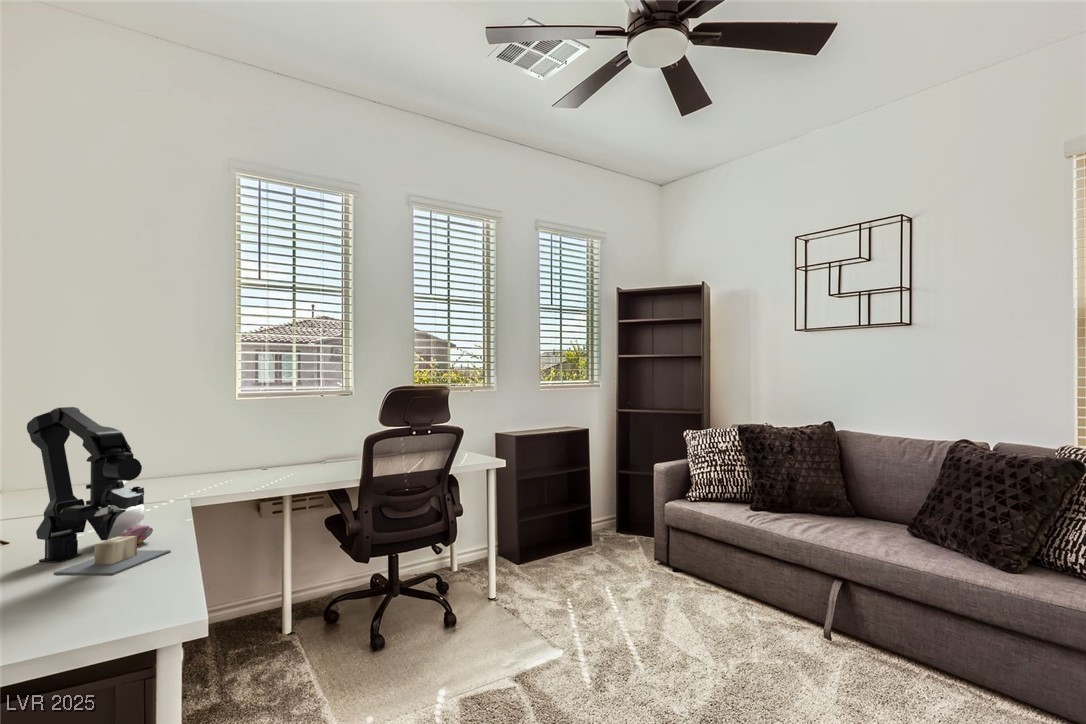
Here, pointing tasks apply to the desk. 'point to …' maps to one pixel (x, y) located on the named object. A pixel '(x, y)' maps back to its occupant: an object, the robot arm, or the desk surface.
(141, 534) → the video game controller
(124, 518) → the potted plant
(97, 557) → the tall block
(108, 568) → the rubber mat
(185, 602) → the desk surface
